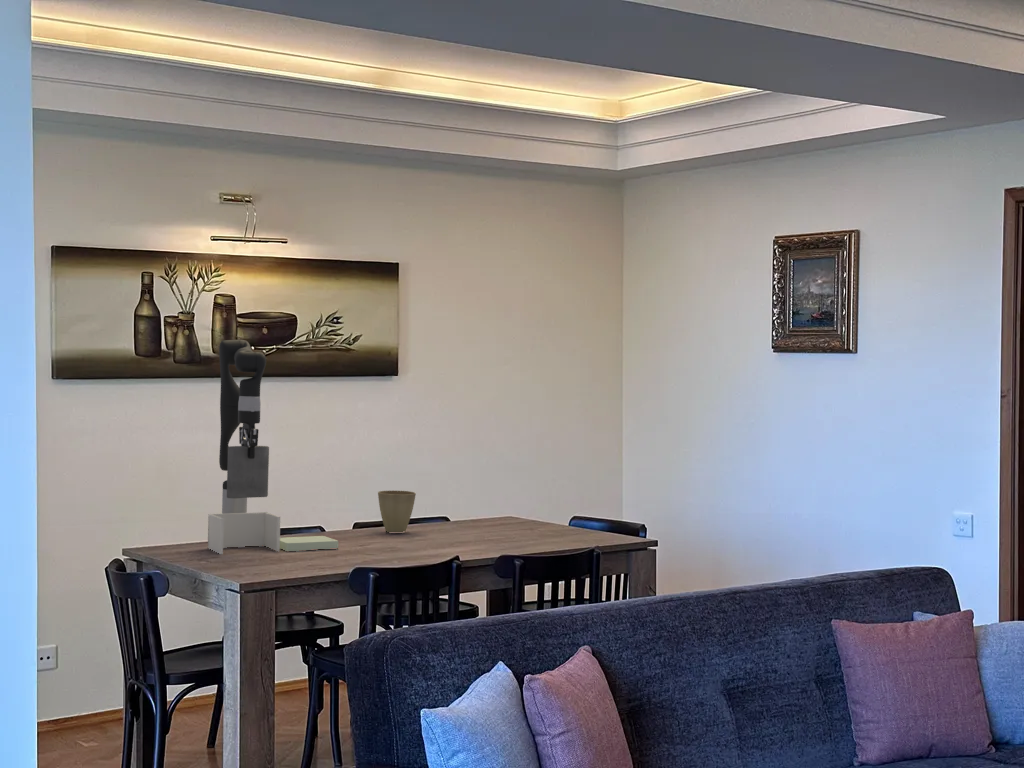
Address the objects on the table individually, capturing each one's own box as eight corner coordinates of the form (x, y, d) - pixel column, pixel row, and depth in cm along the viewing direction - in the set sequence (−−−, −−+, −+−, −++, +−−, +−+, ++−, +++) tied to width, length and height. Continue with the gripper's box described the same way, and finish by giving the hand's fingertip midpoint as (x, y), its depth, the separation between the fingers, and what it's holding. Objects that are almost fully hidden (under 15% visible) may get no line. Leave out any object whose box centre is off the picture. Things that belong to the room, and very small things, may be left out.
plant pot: (370, 533, 480) (371, 492, 480) (385, 529, 495) (386, 489, 494) (406, 536, 476) (407, 495, 476) (420, 531, 490) (421, 491, 490)
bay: (207, 548, 429) (208, 514, 429) (265, 545, 439) (266, 512, 439) (219, 554, 416) (220, 518, 416) (279, 551, 427) (280, 516, 427)
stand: (273, 546, 438) (273, 538, 438) (323, 544, 448) (323, 535, 448) (286, 551, 426) (287, 543, 426) (338, 549, 436) (338, 540, 436)
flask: (262, 495, 433) (264, 438, 433) (270, 496, 428) (271, 439, 428) (223, 497, 423) (224, 439, 423) (230, 498, 419) (232, 440, 419)
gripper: (232, 408, 430) (231, 456, 430) (245, 410, 417) (243, 459, 418) (253, 408, 434) (251, 456, 434) (266, 410, 421) (265, 459, 421)
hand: (247, 457), depth 426 cm, fingers closed on flask, 6 cm apart
